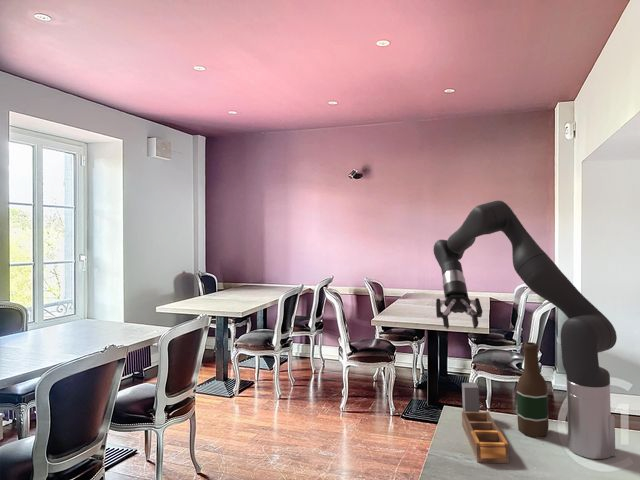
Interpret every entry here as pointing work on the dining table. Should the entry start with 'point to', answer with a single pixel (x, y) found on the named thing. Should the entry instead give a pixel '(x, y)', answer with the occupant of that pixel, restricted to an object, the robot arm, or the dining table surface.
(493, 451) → the bay rack
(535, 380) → the beer bottle
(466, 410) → the block
